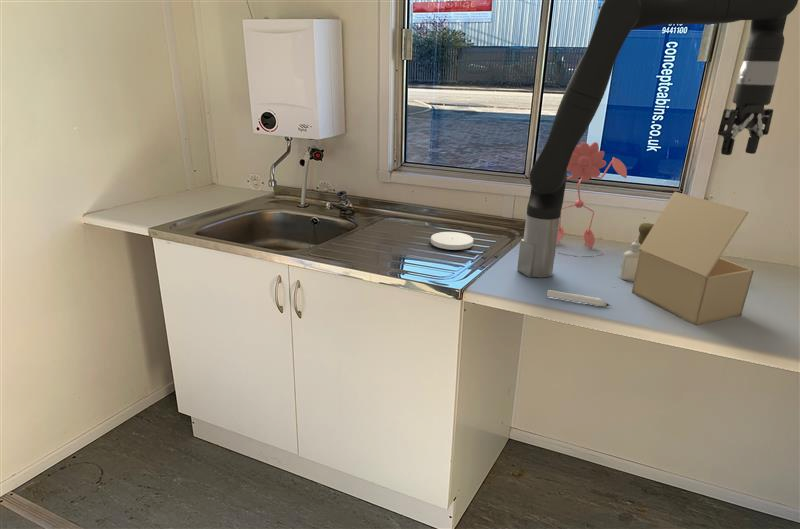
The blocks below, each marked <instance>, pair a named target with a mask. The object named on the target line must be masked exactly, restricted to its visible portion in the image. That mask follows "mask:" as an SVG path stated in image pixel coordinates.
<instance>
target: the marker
mask: <svg viewBox="0 0 800 529" xmlns="http://www.w3.org/2000/svg"><path fill="white" fill-rule="evenodd" d="M547 297H553V298H558V299H564V300H569V301H575V302H581V303H587V304H592V305H598V306H603V307H612V306H613V305H612V304H609V303H608V302H606V301H604V300H603V299H602V298H601V297H600V298H599V297H595V296H588V295H582V294H576V293H572V292H564V291H558V290H552V289H548V290H547V293H546V298H547Z"/></svg>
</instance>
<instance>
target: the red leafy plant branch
mask: <svg viewBox="0 0 800 529" xmlns="http://www.w3.org/2000/svg"><path fill="white" fill-rule="evenodd" d="M599 149H600V148H599V144H598V142H597V141H595V142H592V143H591V144H590V145H589V143H587V142H585V141H582V142H580V145H578V144H577V145H576V147H575V149H574V151H573V154H572V156H571V159H570V161H569V164H568V167H567V172H571V173H570V174H571V175H569V176H567V179H570V178H571V179H572V180H574V181H576V180H578V179H579V178H580V179H579V181H578V182H577V183H576V184H577V185H576V186H577V187H576V188H577V194H578V196H577V197H578V199H576V200H575V203H574V204H571V205H568V206H565V207H563V206H562V209H561V210H563V209H567V208H570V207H574V206H575V207H576V208H578V209H581V208H583V207H584V208H585V209H587V210H589V211H591V212H592V216H591V219H590V223H589V227H588V228H586V229H585V230H584V233H583V240H584V245H585V244H586V245H587V247H588V248H590V250H592V249H593V247H594V244H595V234H594V233H593V231H592V230H591V226H592V222H593V217H594V214H595V211H594V210H593V209H590V208H589V207H587V206H586V205H584V201H583V200H582V199H581V193H580V191H581V190H580V184H581V182H582V180H583V181H585V182H588V181H590V180H591V178H592V179H598V180H602V179H603V178H604V177H605V175H606V174H607V172H608V170H609V169H610V167H611V166H612V167H613V169H614V171H615V172H616V174H618V175H619V176H621V177H622V178H624V179H627V177H628V175H627V174H628V171H627V168H626V167H627V166H626V165H625V164H624V163H623V161H621V159H619V158H616V157H614V156H613V157H612V160H611V161H610V162H609V164H608V165H607V161H606V160H604V157H605V151H604V150H600V151H599ZM606 165H607V167H606ZM604 167H606V168H605V170H604V172H603V174H601V171H600V169H602V168H604ZM561 220H562V214H561V215H560V222H559V229H558V236H557V243H556V244H558V243H559V242H560V241H561V240H562V239H563V237H564V234H565V230H564V227H563V226H561ZM559 254H561V255H562V253H561V252H559ZM563 255H564V256H565V255H566V256H567V254H564V253H563ZM603 255H604V253H602V254H600V255H599V254H598V255H597V257H601V256H603ZM568 256H569V257H570V256H571V257H574V258H575V257H576V258H577V255H570V254H568ZM592 256H593V255H592ZM592 256H591V255H590V256H589V255H588V256H585V255H582V257H581V258H587V257H589V258H593V257H592Z"/></svg>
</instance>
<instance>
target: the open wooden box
mask: <svg viewBox="0 0 800 529" xmlns="http://www.w3.org/2000/svg"><path fill="white" fill-rule="evenodd" d="M754 272H755V270H754V269H752V268H749V267H746V266H743V265H741V264H738V263H735V262H733V261H729V260H727V259H725V258H722V257H720V258H719V259H718V261H717V262H716V264H715V265H714V267H713V268H712V270H711V272H710V273H709V275H708V276H707V277H705V276H702V275H700V274H698V273H695V272H693V271H690V270H688V269H686V268H683V267H681V266H678V265H676V264H674V263H671V262H669V261H666V260H664V259H662V258H659V257H657V256H654V255H652V254H650V253H647V252H645V251H640V254H639V259H638V264H637V269H636V274H635V279H634V281H633V285H632V291H631V293H632V294H634V295H635V296H637V297H640V298H642V299H644V300H646V301H648V302H649V303H650V304H653V305H655V306H656V307H657V306H658V307H659V308H661V309H663V310H665V311H667V310H668V311H667V312H669V313H671V314H672V313H673V314H672V315H674V314H676V315H677V316H676V315H675V316H676V317H678V316H680V317H681V319H682V318H683V319H682V320H684V319H685V320H684V321H686V320H687V321H686V322H688V321H689V322H688V323H690V322H691V323H690V324H692V323H693V324H692V325H694V324H695V325H696V324H697V325H701V323H702V324H707V323H710V322H716V321H719V320H720V321H721V320H724V319H729V318H734V317H738V316H742V314H743V311H744V306H745V303H746V300H747V296H748V293H749V292H748V291H749V289H750V286H751V285H750V284H751V282H752V278H753V276H754ZM680 317H679V318H680ZM695 325H694V326H695Z"/></svg>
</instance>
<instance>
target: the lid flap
mask: <svg viewBox="0 0 800 529" xmlns="http://www.w3.org/2000/svg"><path fill="white" fill-rule="evenodd" d="M748 214H749V211H747V210H743V209H740V208H736V207H732V206H730V205H729V206H728V205H726V204H722V203H718V202H715V201H711V200H708V199H704V198H700V197H697V196H693V195H689V194H685V193H681V192H678V191H674V192H673V194H672V195H671V197H670V198H669V200H668V202H666V205H665V207H664V208H663V210H662V211H661V213H660V214H659V216H658V217H657V220H656V221H655V222H654V226H653V227H652V229H651V230H650V232H649V234H648V235H647V237H646V238H645V240H644V242H643V243H642V245H641V246H640V248H639V249H640V250H642V251H645V252H647V253H650V254H652V255H654V256H657V257H659V258H662V259H664V260H666V261H669V262H671V263H674V264H676V265H678V266H681V267H683V268H686V269H688V270H690V271H693V272H695V273H698V274H700V275H702V276H705V277H707V276H708V275H709V273H710V272H711V270H712V268H713V267H714V265H715V264H716V262H717V261H718V259H719V258H721V256H722V255H723V253H724V251H725V250H726V249H727V247H728V245H729V243H730V242H731V240H733V238H734V237H735V235H736V233H737V231H738V230H739V228H740V227H741V225H742V224H743V223H744V220H745V219H746V218H747V216H748Z"/></svg>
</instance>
